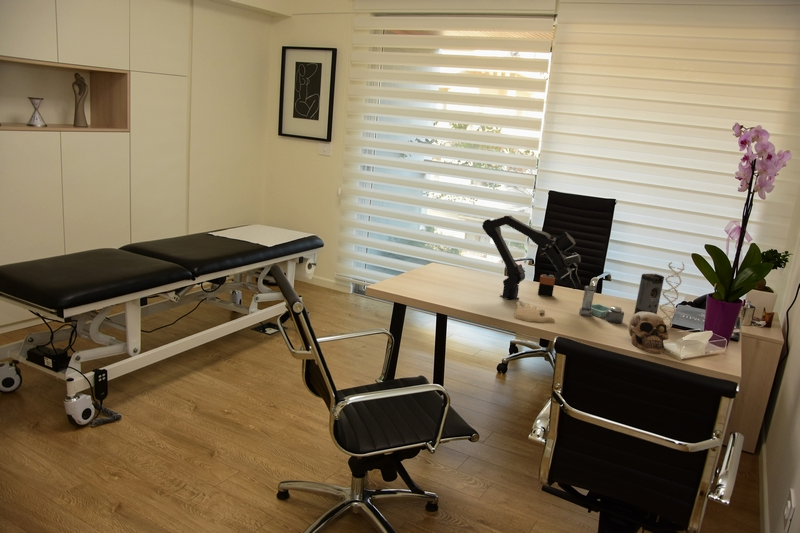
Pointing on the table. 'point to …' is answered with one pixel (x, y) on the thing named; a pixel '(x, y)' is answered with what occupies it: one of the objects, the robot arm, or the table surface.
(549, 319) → the hand model
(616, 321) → the calibration weight
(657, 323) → the tan skull model
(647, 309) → the electronic device
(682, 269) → the dna model
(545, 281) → the battery
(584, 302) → the grey cylindrical piece
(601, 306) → the tray
